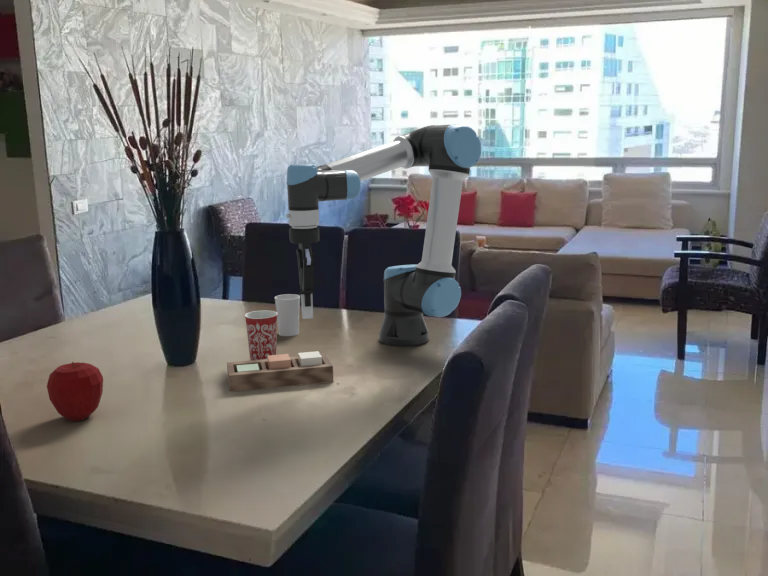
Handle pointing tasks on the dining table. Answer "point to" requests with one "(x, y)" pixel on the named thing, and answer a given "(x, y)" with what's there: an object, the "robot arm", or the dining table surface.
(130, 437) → the dining table surface
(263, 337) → the mug
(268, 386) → the wooden compartment tray
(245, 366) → the key sage
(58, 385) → the apple
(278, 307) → the cup
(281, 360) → the key terracotta
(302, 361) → the key ivory
